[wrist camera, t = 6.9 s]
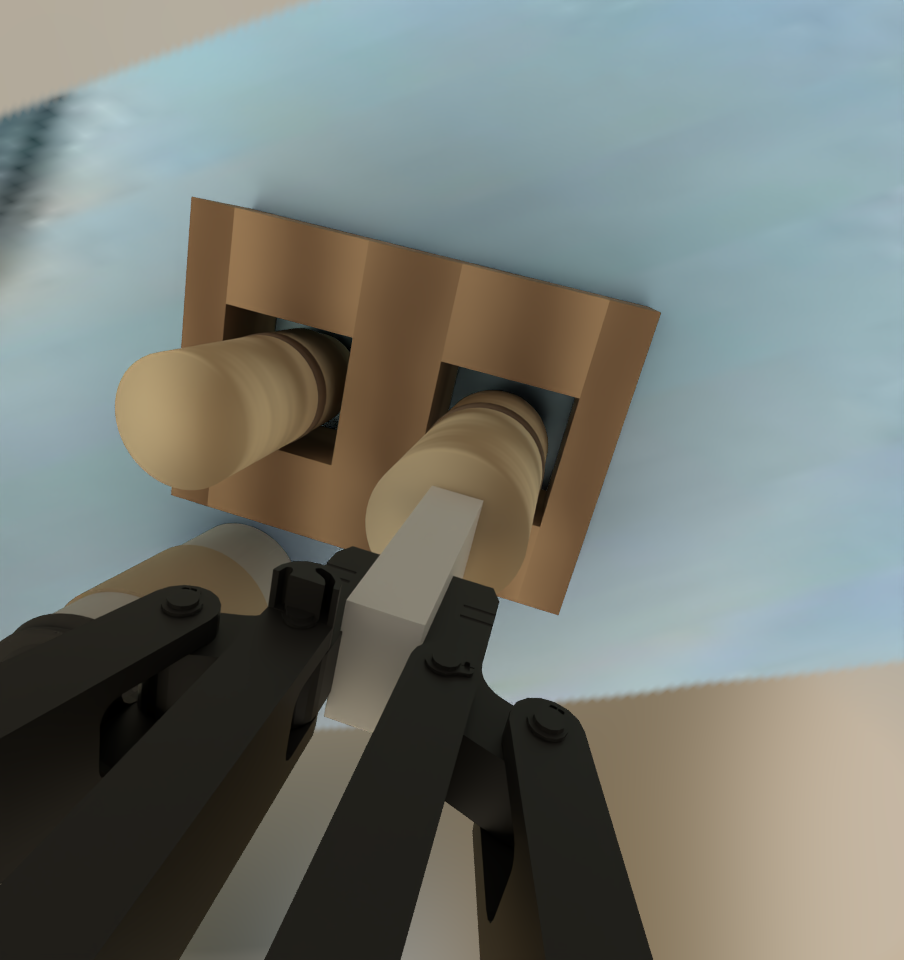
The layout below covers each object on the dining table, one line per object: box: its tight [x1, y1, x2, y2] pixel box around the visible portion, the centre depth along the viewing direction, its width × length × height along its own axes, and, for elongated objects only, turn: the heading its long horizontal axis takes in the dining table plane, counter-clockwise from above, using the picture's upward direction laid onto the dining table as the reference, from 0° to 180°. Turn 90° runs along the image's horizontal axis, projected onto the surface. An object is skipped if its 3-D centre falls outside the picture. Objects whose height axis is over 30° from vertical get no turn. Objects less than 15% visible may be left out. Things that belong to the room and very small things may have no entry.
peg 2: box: [365, 390, 548, 594], centre depth 23 cm, size 5×5×12 cm
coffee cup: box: [0, 523, 291, 698], centre depth 31 cm, size 9×9×15 cm
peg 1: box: [115, 328, 350, 490], centre depth 26 cm, size 5×5×12 cm
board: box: [171, 197, 661, 615], centre depth 30 cm, size 20×14×5 cm
